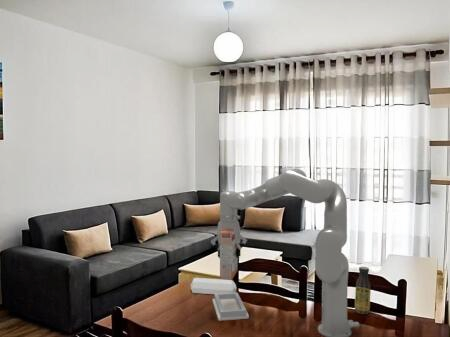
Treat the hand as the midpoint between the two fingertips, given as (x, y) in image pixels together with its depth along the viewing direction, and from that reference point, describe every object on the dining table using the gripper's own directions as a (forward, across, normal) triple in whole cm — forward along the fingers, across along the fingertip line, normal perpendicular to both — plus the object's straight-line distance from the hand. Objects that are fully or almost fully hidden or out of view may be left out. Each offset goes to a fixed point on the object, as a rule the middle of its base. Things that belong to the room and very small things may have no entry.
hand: (229, 257), depth 179 cm
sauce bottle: (+24, -57, +13) cm, 63 cm away
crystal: (+24, +5, -23) cm, 34 cm away
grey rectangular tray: (+23, 0, 0) cm, 23 cm away
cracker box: (+8, 0, 0) cm, 8 cm away
